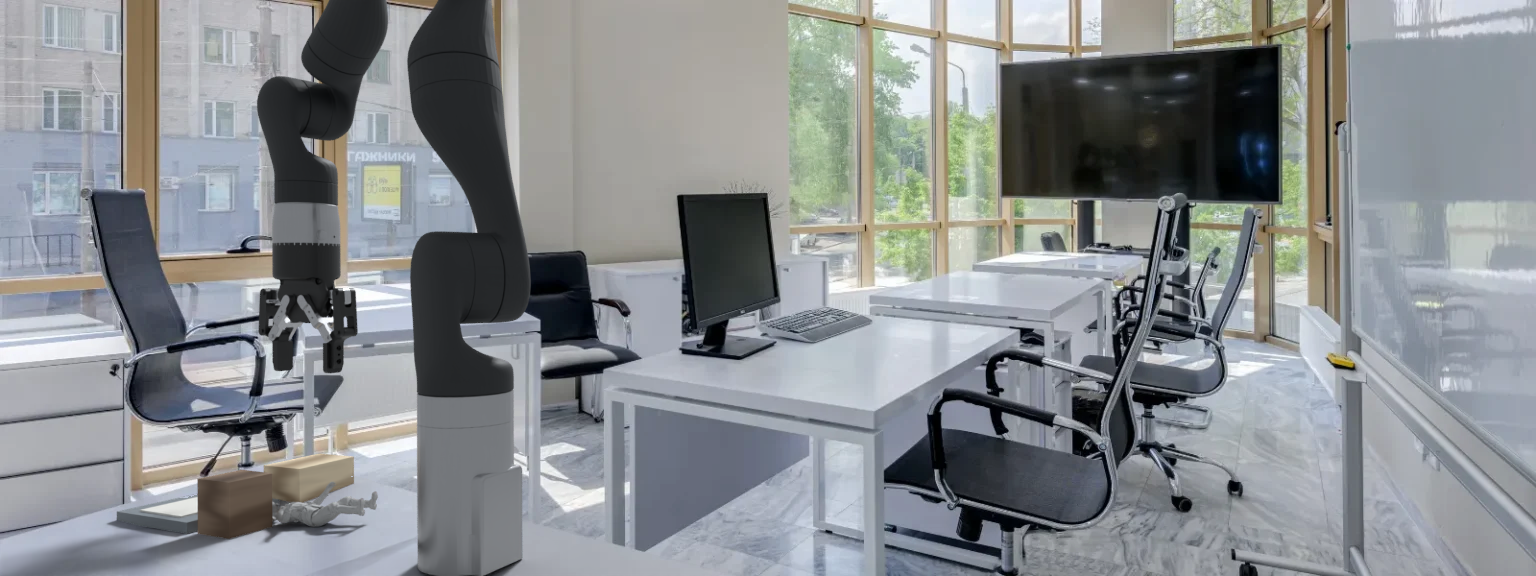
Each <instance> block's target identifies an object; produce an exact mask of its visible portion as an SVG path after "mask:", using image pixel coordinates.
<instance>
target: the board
mask: <svg viewBox="0 0 1536 576" xmlns="http://www.w3.org/2000/svg"><path fill="white" fill-rule="evenodd" d="M196 494H197V495H194V494H193V495H194V496H192V497H191V496H189V495H188V496H189V497H188V498H180V497H177V498H170V499H167V500H163V501H159V502H158V501H157V502H154V503H150V504H149V503H148V504H144V505H139V506H136V507H130V508H127V509H121V510H119V511H118V510H117V511H116V521H117V520H119V521H118V522H122V523H126V522H127V524H130V523H131V525H134V526H138V527H143V528H151V529H157V530H162V531H168V532H174V533H180V534H186V535H187V534H191V533H195V532H198V493H196ZM272 502H274V503H275V504H276V506H278V505H280V500H279V499H272Z"/></svg>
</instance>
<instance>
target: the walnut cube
mask: <svg viewBox="0 0 1536 576" xmlns="http://www.w3.org/2000/svg"><path fill="white" fill-rule="evenodd" d="M197 494H198V531H197V535H201V536H209V537H214V538H219V539H220V538H222V539H227V540H232V539H234V538H239V537H242V536H244V535H245V536H246V535H249V534H253V533H255V532H259V531H263V530H266V529H267V530H268V529H271V528H273V526H274V523H273V522H274V521H273V512H272V473H266V472H264V471H257V470H256V471H255V470H249V469H248V470H247V469H246V470H245V469H238V470H234V471H229V472H224V473H219V474H212V475H209V476H205V477H199V478H197Z"/></svg>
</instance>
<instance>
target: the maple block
mask: <svg viewBox="0 0 1536 576" xmlns="http://www.w3.org/2000/svg"><path fill="white" fill-rule="evenodd" d="M263 472H266V473H272V499H279V501H282V502H287V503H291V502H302V503H307V502H310V501H311V500H313V499H314V500H315V499H317V498H318V497H319V496H320V495H321V494H322V493H323V492H324V490H325V489H326V487H327V485H328V484H329V483H330V482H334V483H335V484H334V485H336V486H334V487H333V488H332V489H331V490H330V491H329V492H328V494H330V493H333V492H335V491H338V490H340V489H343V488H345V487H348V486H351V485H355V456H351V455H341V454H340V455H338V454H330V453H316V454H311V455H306V456H301V457H296V458H293V459H286V460H282V461H279V462H278V461H277V462H273V463H269V464H264V465H263ZM351 476H353V477H351Z"/></svg>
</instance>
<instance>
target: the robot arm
mask: <svg viewBox="0 0 1536 576" xmlns="http://www.w3.org/2000/svg"><path fill="white" fill-rule="evenodd" d="M492 4H493V3H492V0H437V1H436V3H435V5H434V7H432V10H431V11H430V12H429V13H428V15H427V16H426V17H425V19H424V20H423V22H422V23H421V25H420V26H419V28H418V30H417V31H416V32H415V34H414V36H413V39H412V41H411V42H410V45H409V48H408V51H407V57H406V58H407V59H406V62H407V63H406V64H407V77H408V86H409V95H410V96H409V97H410V98H409V99H410V106H411V112H412V115H413V118H414V121H415V122H416V125H417V127H418V129H419V131H420V133H422V135H423V137H424V139H425V140H426V141H427V143H428V144H429V145H430V147H431V148H432V149H433V151H434V152H435V153H436V155H437V156H438V157H439V158H440V160H441V161H442V163H444V165H445V166H446V168H447V169H448V170H449V171H450V173H451V174H452V175H453V177H454V178H455V179H456V181H457V183H458V185H460V188H461V189H462V191H463V193H464V195H465V197H466V199H467V201H468V204H469V206H470V210H471V213H472V216H473V221H474V224H475V228H476V229H475V230H476V232H470V231H469V232H468V231H466V232H465V231H439V230H438V231H428V232H426V233H424V234H422V235H421V236H420V237H419V239H418V240H417V242H416V244H415V246H414V248H413V251H412V254H411V259H410V273H409V274H410V277H409V278H410V279H409V281H410V283H409V285H410V300H411V303H410V304H411V315H412V329H413V330H412V331H413V332H412V333H413V357H414V358H413V359H414V361H413V362H414V367H415V373H416V374H415V376H416V493H417V494H416V495H417V496H416V497H417V498H416V502H417V503H416V504H417V505H416V508H417V509H416V510H417V511H416V512H417V513H416V515H417V516H416V521H417V522H416V523H417V524H416V525H417V526H416V528H417V569H418V570H419V572H421V573H424V574H428V575H430V576H486V575H489V574H491V573H493V572H495V571H498V570H499V569H502V568H504V567H507V566H509V565H510V564H513V563H515V562H517V561H520V560H522V559H523V552H524V551H523V550H524V549H523V546H524V545H523V543H524V541H523V535H524V534H523V467H522V466H521V465H519V464H515V433H514V431H515V429H514V427H515V425H514V424H515V423H514V422H515V420H514V419H515V416H514V415H515V414H514V413H515V409H514V408H515V403H514V402H515V400H514V398H515V396H514V395H515V394H514V392H515V389H514V388H515V384H514V382H515V374H514V368H513V365H512V364H511V363H510V362H509V361H507V360H506V359H504V358H503V359H502V358H499V357H495V356H492V355H489V354H487V353H486V354H485V353H483V352H482V351H479V350H477V349H475V348H474V347H472V346H471V345H470V344H468V343H467V342H466V341H465V339H464V338H463V334H462V328H461V325H464V324H465V325H466V324H467V325H468V324H469V325H470V324H471V325H472V324H495V323H496V324H497V323H499V324H500V323H509V322H514V321H517V320H518V319H520V318H521V317H522V316H523V314H525V311H526V309H527V308H528V305H529V301H530V296H531V288H532V287H531V282H532V281H531V268H530V259H529V253H528V249H527V242H526V238H525V233H524V229H523V224H522V219H521V215H520V209H519V205H518V200H517V195H516V191H515V186H514V182H513V176H512V169H511V161H510V156H509V155H510V154H509V146H508V139H507V131H506V130H507V129H506V121H505V120H506V118H505V109H504V108H505V106H504V94H503V88H502V87H503V86H502V77H501V69H500V63H499V58H498V51H497V44H496V36H495V28H494V27H495V25H494V17H493V15H494V14H493V5H492ZM388 28H389V11H388V3H387V0H328V2H327V3H326V6H325V8H324V10H323V12H322V13H321V15H320V16H319V19H318V20H317V22H316V24H315V26H314V28H313V29H312V31H311V33H310V34H309V37H308V38H307V40H306V42H305V44H304V46H303V48H302V51H301V54H300V59H301V64H302V66H303V67H304V70H306V72H307V73H308V74H309V75H310V76H311V77H312V78H314V79H316V80H317V81H319V82H320V83H319V82H315V81H311V80H310V81H309V80H305V79H300V78H295V77H289V76H283V75H282V76H281V75H276V76H272V77H271V78H268V79H267V80H266V81H265V82H264V83H263V84H262V86H260V87H261V88H260V89H259V92H258V95H257V100H256V112H257V116H258V119H259V124H260V127H261V130H262V133H263V135H264V139H265V143H266V145H267V146H266V147H267V150H268V153H269V157H270V160H271V163H272V168H273V173H274V178H273V179H274V182H273V183H274V189H273V191H274V195H273V196H274V197H273V198H274V200H273V201H274V202H273V203H274V208H273V213H272V214H273V216H272V223H271V224H272V226H271V227H272V228H271V229H272V230H271V232H272V233H271V236H272V237H271V238H272V239H271V240H272V242H271V244H272V245H271V247H272V248H271V249H272V250H271V251H272V255H271V256H272V259H271V260H272V261H271V262H272V266H271V267H272V268H271V269H272V272H271V273H272V278H274V279H275V280H277V281H278V280H279V283H280V284H279V287H277V288H275V287H272V288H270V287H268V288H261V289H260V290H259V306H258V308H259V309H258V310H259V311H258V334H259V336H265V337H267V338H268V339H269V341H270V342H271V343H272V344H271V345H272V346H271V347H272V348H271V349H272V350H271V351H272V352H271V353H272V354H271V355H272V361H271V362H272V366H273V370H274V371H275V372H286V371H291V370H292V369H293V368H294V341H293V340H292V337H293V336H294V334H295V333H296V331H297V329H298V328H299V327H301V326H302V325H303V324H310V325H311V326H312V327H313V329H316V330H318V332H319V334H320V336H321V338H322V339H323V341H324V342H323V343H322V371H323V373H324V374H335V373H336V374H337V373H341V372H342V370H343V367H344V365H345V362H344V360H345V359H344V355H345V354H344V353H345V352H344V345H345V342H346V341H347V339H349V338H351V337H356V336H357V335H358V331H359V330H358V313H357V312H358V311H357V310H358V308H357V291H356V289H355V288H353V287H336V285H335V280H338V279H340V277H341V269H342V267H341V265H342V264H341V263H342V262H341V261H342V260H341V220H340V215H339V207H338V206H339V186H338V185H339V176H338V175H339V173H338V167H337V166H336V164H335V163H334V162H333V161H331V160H330V159H328V158H324V157H322V156H319V155H316V154H314V153H312V152H311V151H309V150H308V148H307V147H306V145H305V144H304V140H303V138H304V139H305V138H306V139H312V140H319V141H326V142H327V141H328V142H329V141H331V142H332V141H336V140H338V139H340V138H341V137H343V136H344V135H346V134H347V133H348V131H350V129H352V128H351V127H352V126H353V122H354V119H355V113H356V106H357V103H358V102H357V101H358V98H359V95H360V91H361V90H360V89H361V84H362V82H363V79H364V76H365V74H366V73H367V71H368V70H369V69H370V67H371V65H372V63H373V62H374V60H375V59H376V57H377V55H378V53H379V51H380V50H381V48H382V46H383V44H384V41H385V40H386V36H387V33H388ZM270 317H272V325H270V324H269V322H270ZM345 317H346V326H345Z"/></svg>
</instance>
